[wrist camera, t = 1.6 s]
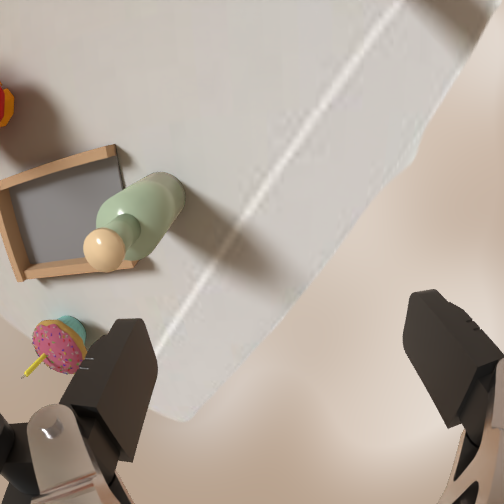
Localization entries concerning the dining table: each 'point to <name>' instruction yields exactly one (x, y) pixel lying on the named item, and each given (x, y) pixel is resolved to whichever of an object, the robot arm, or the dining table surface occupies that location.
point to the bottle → (134, 221)
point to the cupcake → (59, 345)
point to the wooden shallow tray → (57, 213)
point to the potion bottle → (6, 106)
